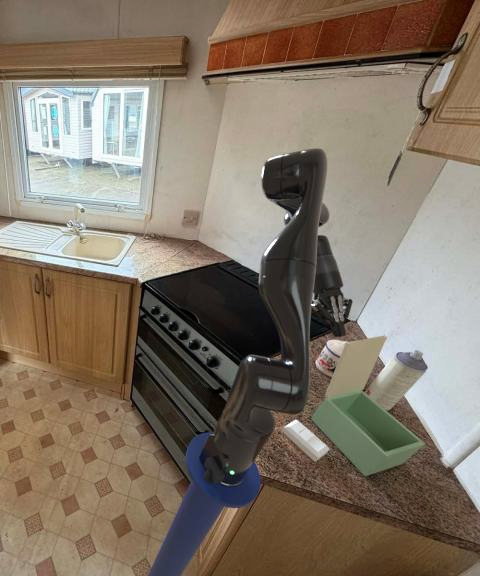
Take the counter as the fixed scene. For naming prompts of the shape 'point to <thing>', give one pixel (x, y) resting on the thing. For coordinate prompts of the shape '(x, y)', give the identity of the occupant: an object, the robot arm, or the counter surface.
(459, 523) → the counter surface
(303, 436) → the white light switch
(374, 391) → the aerosol can
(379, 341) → the lid
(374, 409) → the container
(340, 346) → the teacup with lid
